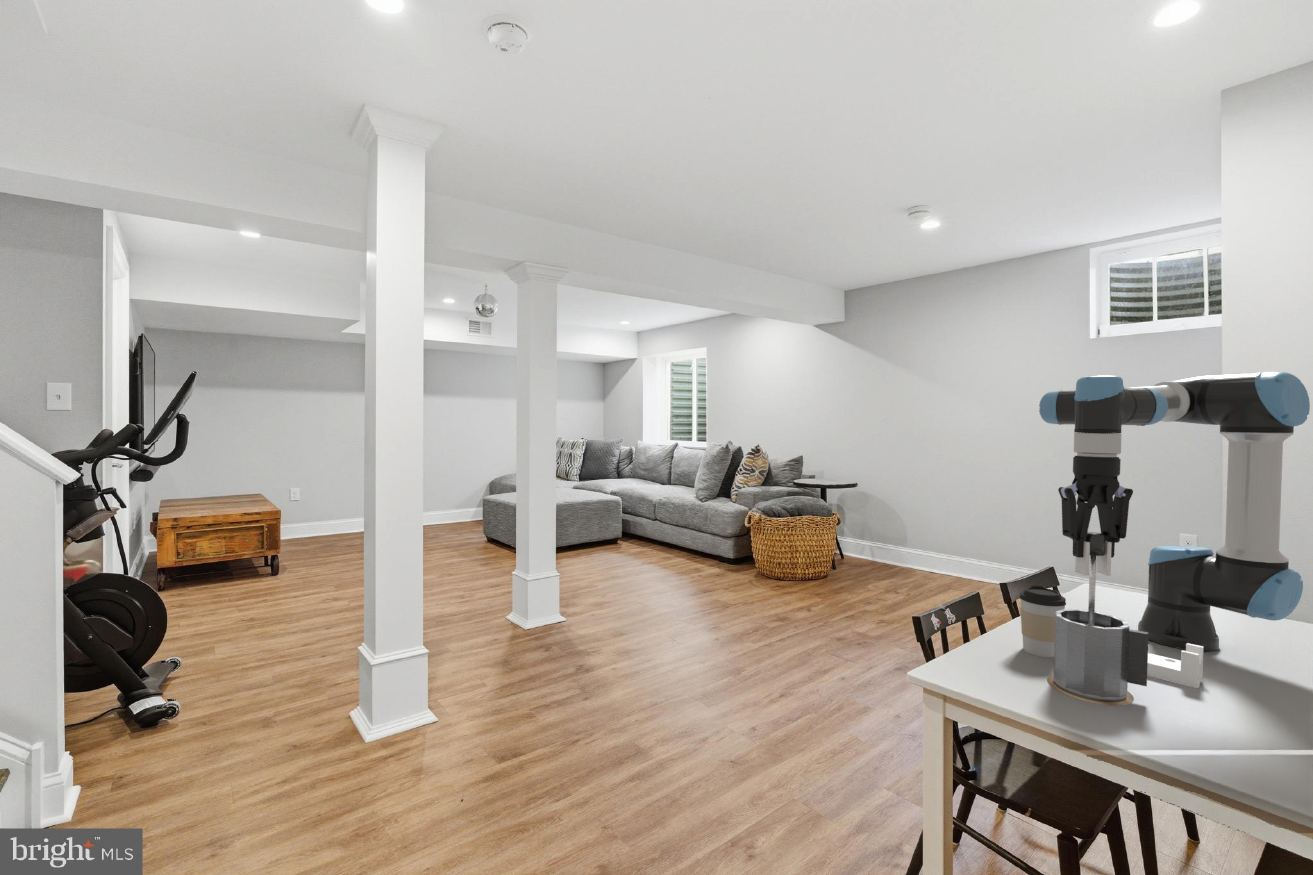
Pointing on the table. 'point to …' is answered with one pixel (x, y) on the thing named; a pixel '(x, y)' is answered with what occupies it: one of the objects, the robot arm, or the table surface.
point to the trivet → (1125, 702)
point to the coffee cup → (1039, 619)
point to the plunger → (1094, 570)
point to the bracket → (1179, 667)
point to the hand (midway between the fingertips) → (1092, 573)
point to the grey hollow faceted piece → (1098, 656)
